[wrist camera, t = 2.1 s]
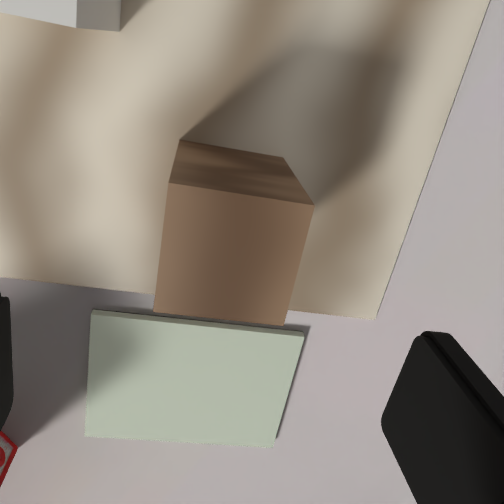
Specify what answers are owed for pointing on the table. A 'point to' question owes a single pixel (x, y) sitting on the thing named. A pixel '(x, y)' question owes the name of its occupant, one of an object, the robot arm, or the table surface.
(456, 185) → the table surface
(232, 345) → the mat
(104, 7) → the pale grey block
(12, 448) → the stack of blocks
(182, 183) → the walnut block
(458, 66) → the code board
